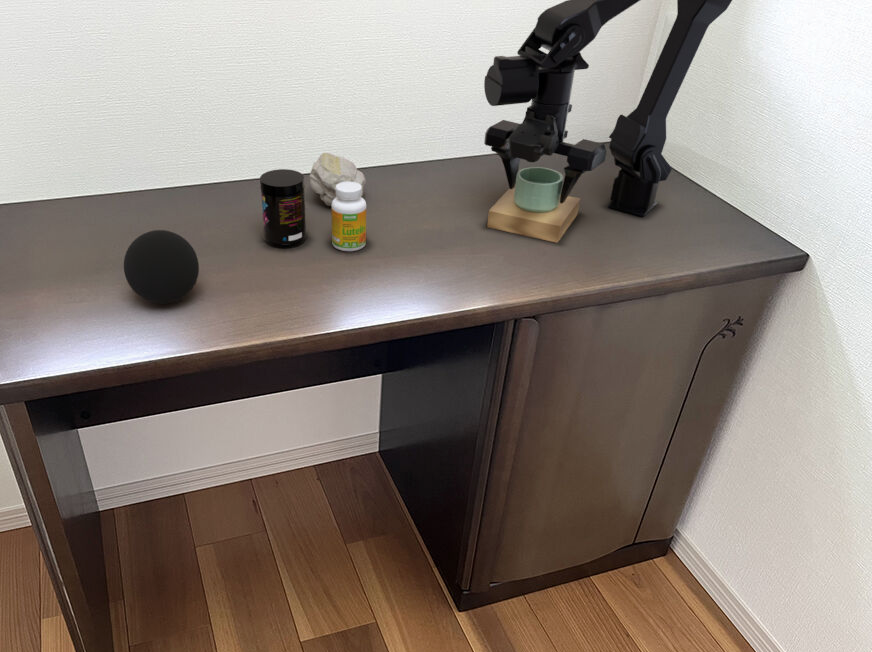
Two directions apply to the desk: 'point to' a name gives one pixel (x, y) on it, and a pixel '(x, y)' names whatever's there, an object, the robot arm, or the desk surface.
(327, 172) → the fossil replica
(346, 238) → the supplement bottle
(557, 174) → the bowl
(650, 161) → the robot arm
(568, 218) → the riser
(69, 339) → the desk surface
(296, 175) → the supplement container
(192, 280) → the decorative ball
